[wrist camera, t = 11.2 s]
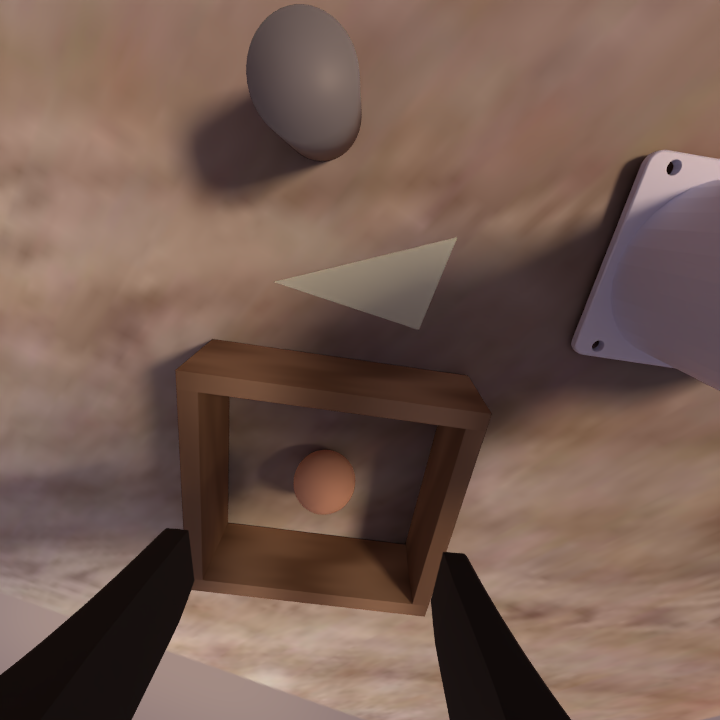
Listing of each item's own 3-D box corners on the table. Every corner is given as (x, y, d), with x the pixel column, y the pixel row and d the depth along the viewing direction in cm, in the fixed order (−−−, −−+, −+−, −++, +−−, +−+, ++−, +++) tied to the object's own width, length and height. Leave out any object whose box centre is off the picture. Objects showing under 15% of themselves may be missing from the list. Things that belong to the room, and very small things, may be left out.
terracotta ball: (359, 441, 19) (358, 482, 16) (351, 487, 20) (349, 532, 17) (301, 434, 19) (290, 473, 16) (297, 480, 20) (285, 524, 17)
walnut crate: (468, 375, 17) (491, 413, 14) (415, 555, 22) (424, 616, 18) (212, 339, 17) (175, 370, 13) (214, 531, 21) (186, 589, 18)
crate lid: (561, -26, 12) (666, -154, 8) (417, 326, 17) (434, 364, 13) (174, -206, 11) (49, -477, 7) (134, 232, 16) (46, 239, 11)
